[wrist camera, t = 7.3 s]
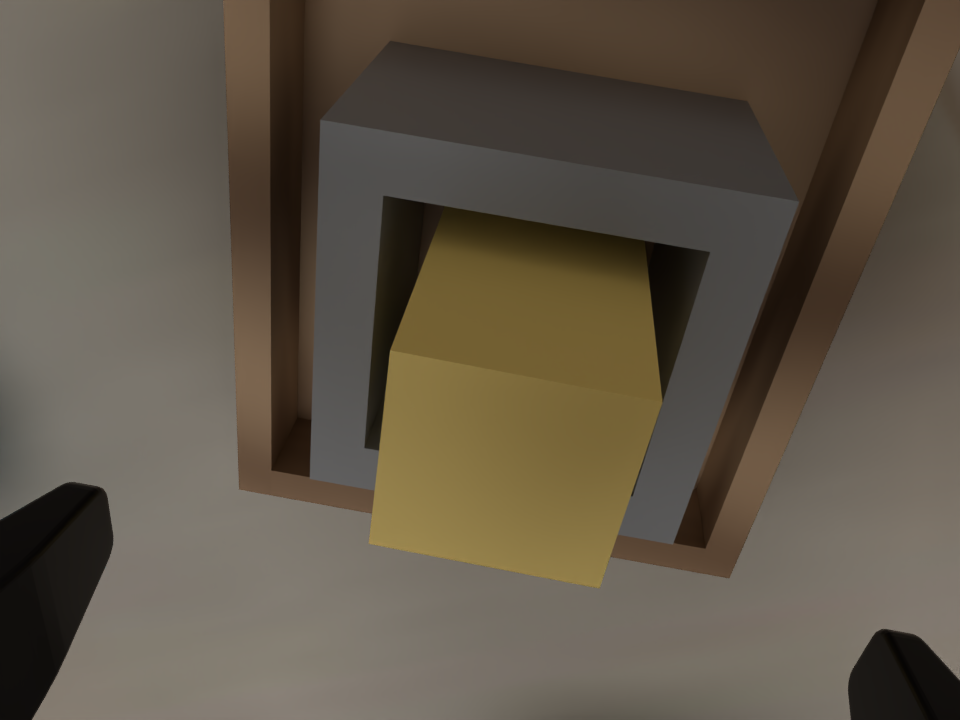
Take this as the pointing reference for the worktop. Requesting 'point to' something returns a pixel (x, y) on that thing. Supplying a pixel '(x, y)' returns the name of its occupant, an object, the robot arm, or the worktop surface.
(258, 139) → the walled box
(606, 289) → the mustard yellow cuboid
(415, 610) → the worktop surface
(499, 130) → the socket
